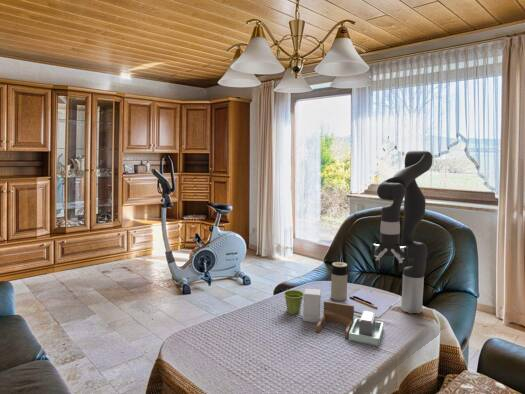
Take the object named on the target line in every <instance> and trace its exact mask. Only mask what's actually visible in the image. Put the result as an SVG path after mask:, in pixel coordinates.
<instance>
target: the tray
mask: <svg viewBox="0 0 525 394" xmlns="http://www.w3.org/2000/svg"><path fill="white" fill-rule="evenodd" d="M354 318H355V319H354V321H353V325H352V327H351V330H350V332H349V337H348V342H354V343H358V344H359V343H360V344H364V345H369V346H375V347H379V346H380V343H381V340H382V335H383V332H384V322H383V321H377V320H375V330H374V334H373V337H371V336H366V335H361V334H359V321H360V318H361V317H360V318H359V317H354Z"/></svg>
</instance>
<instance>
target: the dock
mask: <svg viewBox="0 0 525 394" xmlns="http://www.w3.org/2000/svg"><path fill="white" fill-rule="evenodd" d="M354 315H355V305H352V304H346V303H341V302H334V301H327V300H324V301H323V315H322V316H321V318H320V319H319V322H317V324H316V325H315V326H316V328H315V332H316V334H319V333H320V331H321V330H322V328H323V326H324V325H325V324H326V322H327V323H331V324H332V323H334V324H338V325H345V326H346V329H345V332H344V333H345V334H344V339H346V340H349V332H350V330H351V327H352V325H353V323H354V321H355V319H354V318H355V317H354Z"/></svg>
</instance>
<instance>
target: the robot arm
mask: <svg viewBox="0 0 525 394" xmlns="http://www.w3.org/2000/svg"><path fill="white" fill-rule="evenodd" d="M404 157H405V158H404V168H402V169H400V170H399V171H397V172H396V173H395V174H394V175H393V176H391V177H390V178H389V177H388V179H385V180H383V181H382V182H380V184H379V185H378V187H377V190H376V194H377V197H378V199H381V200H384V201H393V202H392V204H389V205H384V206H382V207H381V211H380V212H381V215H380V217H381V218H380V219H381V220H380V228H379V229H380V230H379V231H380V233H379V235H380V236H379V239H380V240H379V244H376V243H372V245H371V256H370V257H371V259H373V260H375V267H376V269H377V270H379V269H380V267H381V266H380V265H381V262H380V261H381V260H380V259H381V258H382V257H383V256H385V257H395V258H396V259H397V261H398V272H402V285H401V286H402V290H401V306H400V307H401V310H402V311H403V312H404V313H407V312H408V314H412V313H418V314H420V313H419V312H421V311H422V312H423V299H424V298H423V297H424V284H425V283H424V281H425V280H424V279H425V272H426V269H427V258H428V247H427V245H426V244H425V243H423V242H420V241H415V240H414V236H415V235H414V234H415V231H416V229H417V227H418V225H419V224H420V223H421V222H422V220H423V218H424V217H425V214H426V198H425V196H424V193H423V191H422V190H421V189H420V187H419V185H418V184H417V183H418V182H417V181H416V179H417V178H418V177H420V176H422V175H424V174H425V173H427V172H428V171H429V170H430V169H431V168H432V166H433V155H432V153H431V152H430V151H428V150H426V151H425V150H408V151H407V152H406V154H405V156H404ZM402 204H403V223H402V224H403V225H402V233H401V225H400V217H401V216H400V215H401V214H400V213H401V207H402ZM400 236H401V240H400ZM378 249H379V250H380V252H379V254H377V255H376V250H378ZM399 252H400V253H399ZM408 261H411V262H413V263H412V265H411V266H410V265H409V266H405V267H404V263H407V262H408ZM422 312H421V313H422Z"/></svg>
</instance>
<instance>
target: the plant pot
mask: <svg viewBox="0 0 525 394" xmlns="http://www.w3.org/2000/svg"><path fill="white" fill-rule="evenodd" d="M283 295H284V298H285V305H286V311H287V313H289V314H299V313H301V307H302V302H303V299H304V292H303V291H300V290H297V289H296V290H295V289H290V290H289V289H287V291H284V292H283Z"/></svg>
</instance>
